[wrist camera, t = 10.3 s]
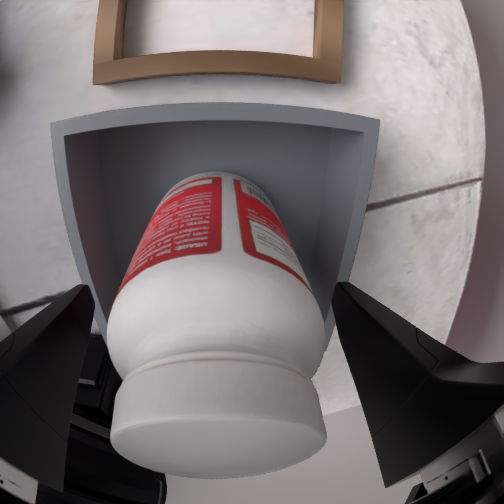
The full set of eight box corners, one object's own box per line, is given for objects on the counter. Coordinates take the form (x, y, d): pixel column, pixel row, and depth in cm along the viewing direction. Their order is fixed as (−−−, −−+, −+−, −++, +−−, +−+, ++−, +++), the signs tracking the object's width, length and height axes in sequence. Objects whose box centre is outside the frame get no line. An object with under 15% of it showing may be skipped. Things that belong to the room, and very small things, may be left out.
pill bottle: (151, 267, 15) (102, 468, 5) (164, 157, 12) (27, 353, 3) (259, 284, 16) (298, 480, 7) (292, 184, 13) (423, 384, 4)
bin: (308, 306, 18) (325, 351, 15) (125, 308, 17) (110, 354, 14) (340, 112, 12) (380, 119, 9) (92, 113, 11) (50, 123, 7)
